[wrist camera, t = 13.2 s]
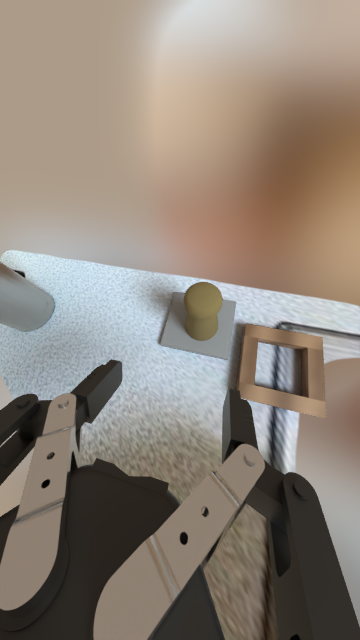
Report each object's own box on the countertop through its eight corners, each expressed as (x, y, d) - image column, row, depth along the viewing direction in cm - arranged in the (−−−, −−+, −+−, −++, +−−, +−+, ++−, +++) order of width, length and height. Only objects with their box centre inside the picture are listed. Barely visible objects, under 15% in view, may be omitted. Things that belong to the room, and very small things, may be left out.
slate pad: (161, 345, 33) (160, 344, 32) (175, 294, 37) (174, 291, 36) (227, 360, 31) (228, 359, 30) (235, 304, 35) (236, 301, 34)
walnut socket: (235, 396, 29) (237, 396, 27) (243, 327, 33) (246, 323, 31) (317, 417, 27) (326, 418, 25) (314, 340, 31) (322, 337, 29)
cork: (224, 320, 33) (236, 287, 22) (207, 347, 31) (211, 325, 21) (196, 304, 34) (195, 267, 24) (178, 329, 33) (169, 301, 22)
